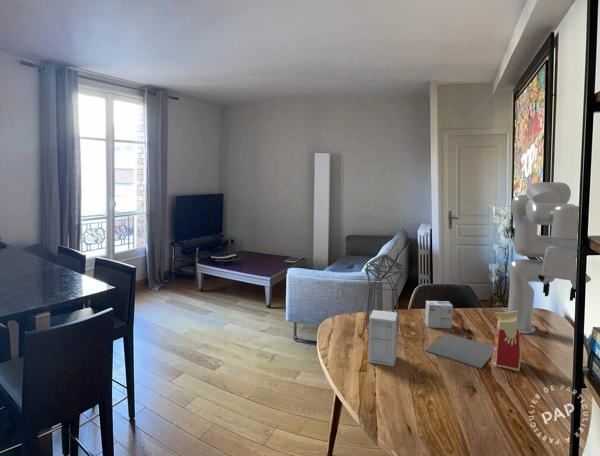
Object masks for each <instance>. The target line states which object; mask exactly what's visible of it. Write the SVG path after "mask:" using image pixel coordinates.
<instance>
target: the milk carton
mask: <svg viewBox="0 0 600 456" xmlns="http://www.w3.org/2000/svg"><path fill="white" fill-rule="evenodd" d="M517 313H518V311H512V312H508V311H507V312H505V311H504V312H494V314H495V315H496V318H497V319H498V320H497V324H496V327H495V336H494V342H493V346H494V349H493V354H492V357H491V358H490V359H491V360H490V362H491V361H492V362H491V363H492V364H493V365H494V367H496V366H497V368H502V367H503V369H508V370H512V371H515V372H520V368H521V360H522V346H521V345H522V343H521V333H519V329H518V324H517Z"/></svg>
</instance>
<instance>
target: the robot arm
mask: <svg viewBox="0 0 600 456" xmlns="http://www.w3.org/2000/svg"><path fill="white" fill-rule="evenodd" d="M571 193H572V192H571V187H570V186H569V185H568V184H567V183H565V182H560V181H559V182H557V181H556V182H552V181H551V182H549V181H548V182H545V181H541V182H540V181H538V182H534V183H531V184H530V185H529V186H528V187H527V189H526V193H525V194H519V195H516V196H514V197H513V198H512V200H511V209H510V210H511V214H512V216H513V220H514V239H513V241H514V243H513V245H514V246H513V247H514V249H513V250H514V252H515V254H516V255H518V256H521V257H534V258H541V259H542V260H540V259H539V260H538V259H528V258H518V259H513V260H512V261H511V262H510V263H509V266H508V270H509V271H508V272H509V294H508V302H507V303H508V304H507V306H508V307H507V312H512V311H518V313H517V324H518V329H519V333H520V334H523V335H525V334H528V335H529V334H534V333H535V332H536V328H535V327H534V326H533V325H532V323H533V321H532V320H533V312H534V304H535V303H534V300H535V291H534V288H533V287H532V286H531V284H530V282H535V283H542V284H543V287H542V293H543V294H544V297H548V296H549V295H550V287H551V285H550V283H553V282H554V280H555V279H558V280H565V281H569V282H570V283H571V285H572V286H571V288H570V292H569V301H570V302H573V300H574V299H576V298H575V292H576V258H577V234H578V213H579V207H580V206H579V205H575V204H572V203H569V201H570V199H571ZM539 226H551V232H550V234H551V235H539V234H538V230H539V229H538V228H539ZM591 280H592V278H591V277H590V275H588V274H587V273H586V283H585V284H588V283H589V282H591ZM576 293H577V292H576Z"/></svg>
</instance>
